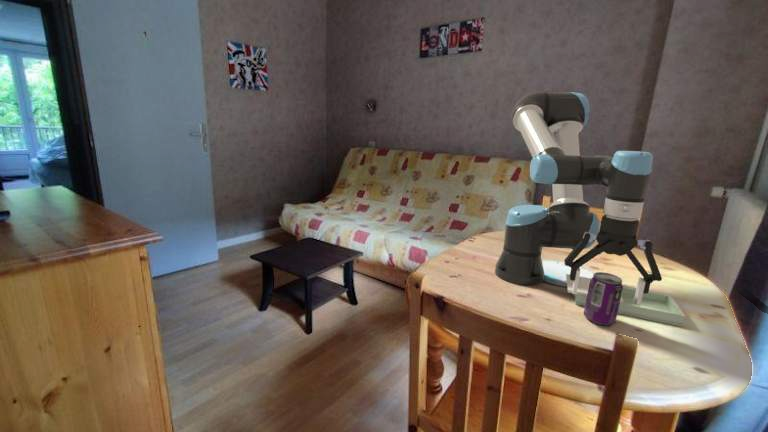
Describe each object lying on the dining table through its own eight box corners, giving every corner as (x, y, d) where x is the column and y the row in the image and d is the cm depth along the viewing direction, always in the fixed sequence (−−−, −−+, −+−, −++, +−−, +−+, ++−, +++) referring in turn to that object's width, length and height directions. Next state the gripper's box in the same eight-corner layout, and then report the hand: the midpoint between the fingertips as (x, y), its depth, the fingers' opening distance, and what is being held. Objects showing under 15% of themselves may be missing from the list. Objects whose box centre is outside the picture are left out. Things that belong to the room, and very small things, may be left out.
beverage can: (619, 329, 85) (630, 285, 82) (588, 325, 86) (597, 281, 83) (607, 314, 92) (617, 272, 88) (579, 310, 93) (587, 270, 90)
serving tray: (575, 304, 96) (577, 294, 95) (572, 286, 107) (574, 277, 106) (682, 326, 87) (685, 316, 86) (668, 304, 97) (670, 295, 96)
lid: (567, 292, 97) (569, 282, 96) (566, 276, 107) (567, 266, 106) (622, 303, 91) (625, 292, 90) (615, 285, 101) (617, 275, 101)
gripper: (563, 213, 83) (550, 293, 89) (693, 228, 73) (670, 316, 78) (561, 207, 90) (550, 282, 95) (681, 220, 80) (660, 302, 85)
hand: (604, 298), depth 87 cm, fingers open, 13 cm apart
